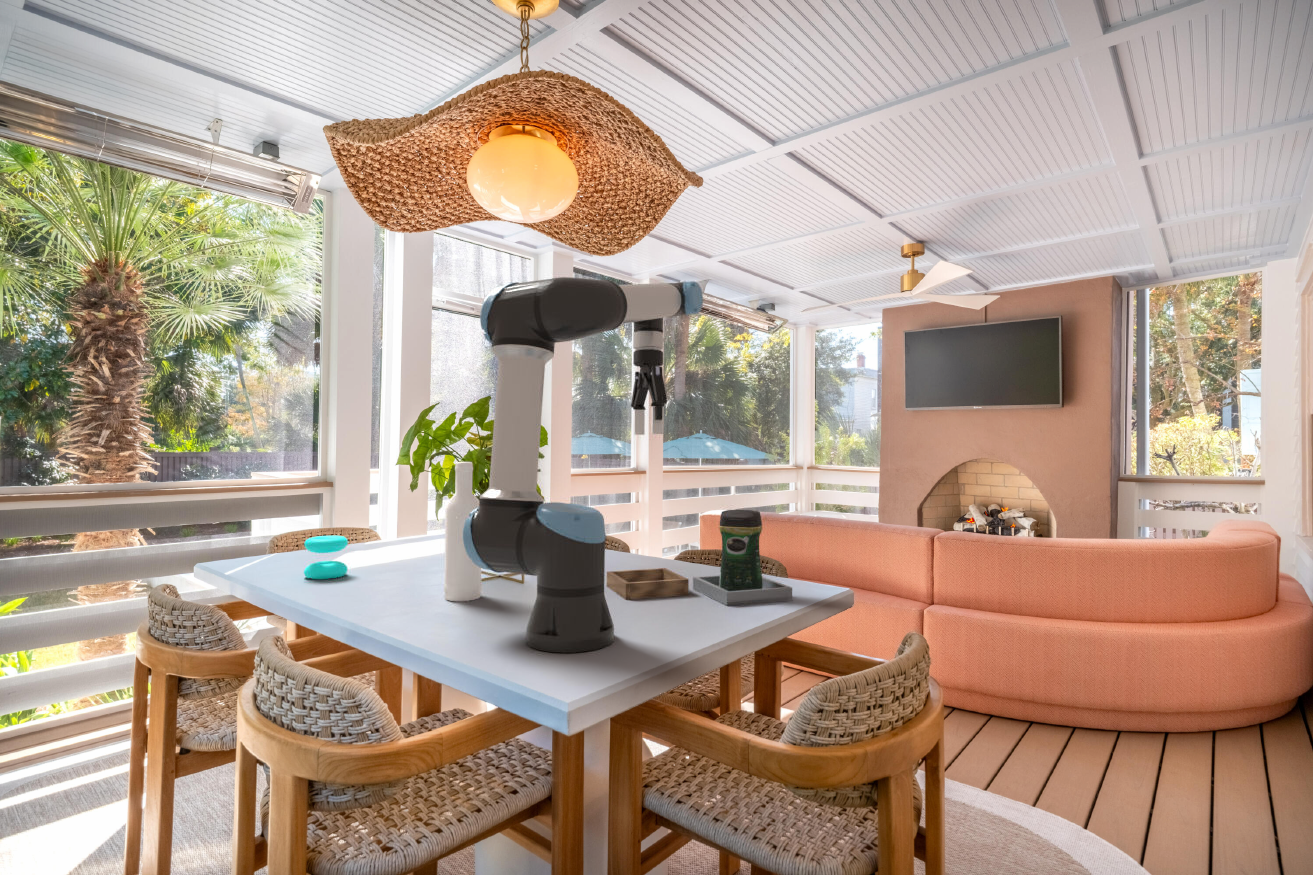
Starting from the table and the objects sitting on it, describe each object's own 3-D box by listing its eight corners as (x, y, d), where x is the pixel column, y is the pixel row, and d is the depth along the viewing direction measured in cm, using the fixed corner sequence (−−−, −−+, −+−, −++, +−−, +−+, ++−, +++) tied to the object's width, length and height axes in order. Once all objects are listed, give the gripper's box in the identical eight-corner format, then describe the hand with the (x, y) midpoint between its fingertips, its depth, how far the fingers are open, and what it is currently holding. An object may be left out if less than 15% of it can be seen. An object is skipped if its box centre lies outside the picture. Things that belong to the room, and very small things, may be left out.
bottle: (474, 592, 155) (476, 461, 155) (486, 598, 148) (487, 462, 148) (439, 596, 150) (440, 461, 151) (449, 603, 144) (451, 462, 144)
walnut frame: (625, 599, 148) (625, 583, 148) (606, 586, 162) (606, 571, 162) (688, 594, 153) (688, 579, 153) (664, 582, 167) (664, 567, 167)
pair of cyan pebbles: (302, 536, 174) (345, 533, 179) (302, 575, 174) (344, 571, 179) (306, 541, 165) (350, 538, 171) (305, 581, 165) (350, 577, 171)
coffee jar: (765, 589, 156) (765, 508, 156) (757, 596, 148) (757, 511, 149) (725, 585, 159) (725, 507, 160) (715, 592, 152) (715, 510, 152)
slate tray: (726, 605, 143) (726, 592, 143) (693, 588, 160) (693, 576, 160) (792, 600, 148) (792, 587, 148) (752, 584, 165) (753, 572, 165)
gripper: (680, 344, 160) (680, 433, 160) (645, 357, 183) (645, 435, 183) (651, 342, 157) (650, 433, 157) (619, 355, 181) (619, 434, 180)
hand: (647, 434), depth 170 cm, fingers open, 13 cm apart
